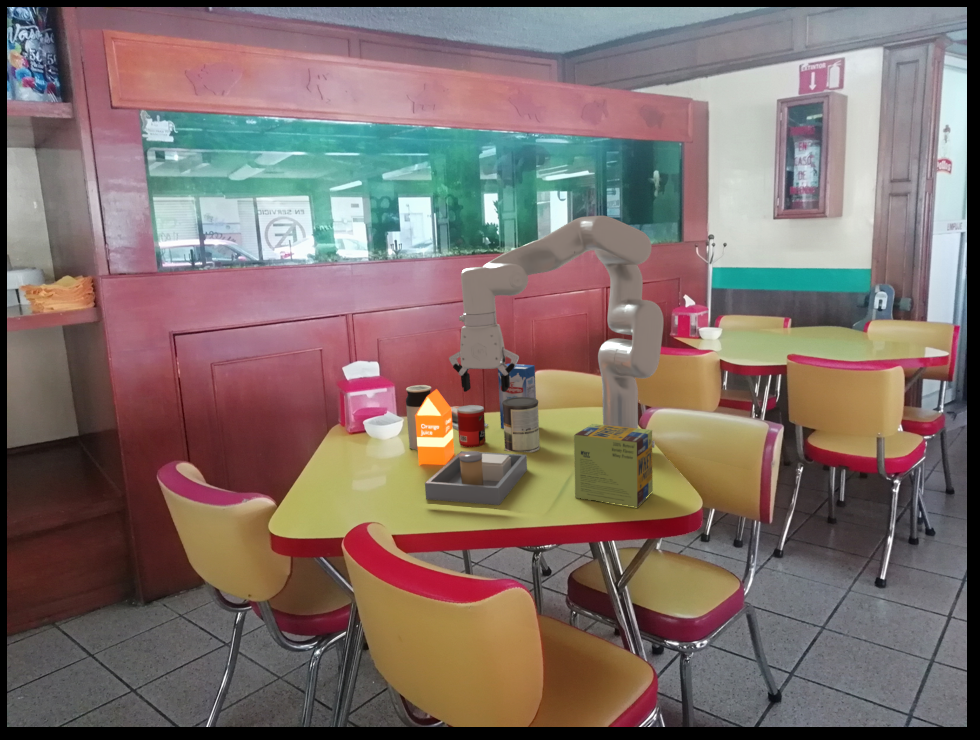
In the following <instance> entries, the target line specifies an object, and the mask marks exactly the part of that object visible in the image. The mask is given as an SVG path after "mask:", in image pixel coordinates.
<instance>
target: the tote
mask: <svg viewBox="0 0 980 740" xmlns="http://www.w3.org/2000/svg"><path fill="white" fill-rule="evenodd" d="M464 452H467V451H463V450H461V451H460V452H459V453H457V454H456V455H455V456H454V457H452V458H451V459H450V460H449V461H448V462H447V463H446V464H445V465H443V467H441V468H440V469H439V470H438V471H437V472H436V473H434V474H433V475H432V476H431V477H430V478H429V479H428V480H427V481H425V483H424V486H425V487H424V488H425V490H424V491H425V500H430V501H445V502H454V503H455V502H456V503H466V504H467V503H469V504H478V505H479V504H480V505H492V506H500V505H501V503H502V502H503V501H504V500H505V499H506V497H507V496H508V494H509V493H510V492H511V491H512V490H513V488H515V486H516V485H517V483H518V482H519V481H520V479H521V478H522V477H523V476H524V474H525V473H526V472H527V471H528V459H527V458H528V456H527V454H521V453H520V454H517V453H516V454H515V453H500V452H499V453H498V452H481V453H482V454H496V455H509V457H511V469H510V470H509V471H508V472H507V473H506V475H505V476H504V477H503V478H502V479H501V480H500V481H488V480H483V484H484V485H470V484H462V481H461V466H460V457H459V455H460V454H461V453H464ZM495 509H496V508H494V510H495Z"/></svg>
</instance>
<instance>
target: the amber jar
mask: <svg viewBox="0 0 980 740" xmlns="http://www.w3.org/2000/svg"><path fill="white" fill-rule="evenodd" d="M459 457H460V466H461V481H462V484H470V485H484V484H483V468H482V453H481V452H480V451H477V450H476V451H475V450H474V451H473V450H471V451H466V452H464V453H461V454H460V455H459Z"/></svg>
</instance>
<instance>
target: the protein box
mask: <svg viewBox="0 0 980 740" xmlns="http://www.w3.org/2000/svg"><path fill="white" fill-rule="evenodd" d="M652 441H653V429H647V428H645V429H644V428H638V429H637V428H629V427H620V426H609V425H603V424H597V423H591V424H590V425H589V426H587V427H584V428H583V429H582V430H580V431H578V432H576V433H575V434H574V435H573V443H574V444H573V449H574V451H573V453H574V489H575V490H574V497H576V499H580V498H581V500H585V499H588V500H587V501H591V500H596V501H603V502H609V503H615V504H622V505H628V506H634V507H638V506H639V505H640V504H641V503H642V502H643V501H644V500H645V499H646V497H647V496H648V495H649V494H650V493H651V492H652V491H653V489H654V488H653V484H654V481H653V448H652ZM653 492H654V491H653ZM646 500H647V499H646ZM646 500H645V501H646ZM596 501H595V502H596ZM645 501H644V502H645ZM644 502H643V503H644ZM643 503H642V504H643ZM642 504H641V505H642ZM641 505H640V506H641ZM640 506H639V507H640ZM639 507H638V508H639Z"/></svg>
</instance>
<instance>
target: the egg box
mask: <svg viewBox="0 0 980 740" xmlns="http://www.w3.org/2000/svg"><path fill="white" fill-rule="evenodd" d="M482 468H483V480H488V481H500V480H501V479H502V478H503V477H504V476H505V475H506V473H507V472H508V471H509V470H510V469H511V457H509V455H496V454H482Z"/></svg>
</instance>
